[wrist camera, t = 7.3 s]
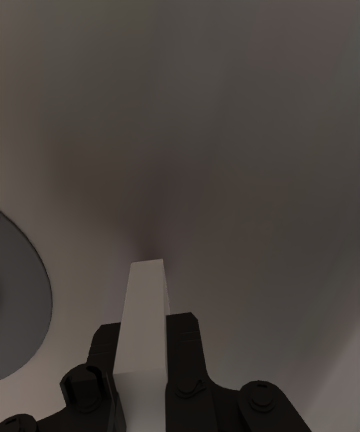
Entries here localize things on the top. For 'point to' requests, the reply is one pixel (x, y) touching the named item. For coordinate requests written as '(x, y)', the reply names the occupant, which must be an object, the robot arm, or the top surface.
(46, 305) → the disc
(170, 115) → the top surface
